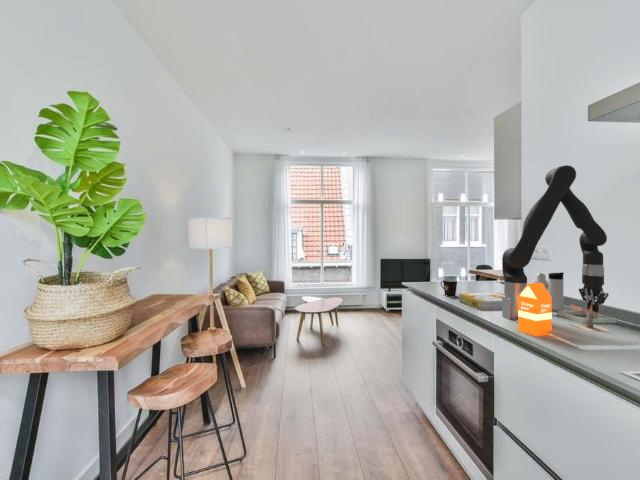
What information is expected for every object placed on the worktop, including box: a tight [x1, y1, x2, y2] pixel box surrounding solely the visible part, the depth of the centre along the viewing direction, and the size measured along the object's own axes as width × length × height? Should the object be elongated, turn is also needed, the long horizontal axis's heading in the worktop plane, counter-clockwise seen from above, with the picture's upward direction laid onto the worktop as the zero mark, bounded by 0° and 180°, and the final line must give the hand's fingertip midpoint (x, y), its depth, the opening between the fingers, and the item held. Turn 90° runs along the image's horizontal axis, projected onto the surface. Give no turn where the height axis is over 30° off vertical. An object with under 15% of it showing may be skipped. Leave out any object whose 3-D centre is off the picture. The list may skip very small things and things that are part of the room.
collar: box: [568, 302, 603, 318], centre depth 140 cm, size 10×7×6 cm
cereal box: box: [458, 292, 504, 310], centre depth 175 cm, size 20×6×28 cm
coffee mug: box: [440, 279, 458, 297], centre depth 204 cm, size 12×9×10 cm
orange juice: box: [517, 282, 553, 337], centre depth 125 cm, size 8×9×20 cm
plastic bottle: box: [533, 273, 549, 291], centre depth 154 cm, size 6×7×20 cm
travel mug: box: [547, 272, 565, 313], centre depth 160 cm, size 6×7×20 cm
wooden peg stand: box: [568, 312, 612, 332], centre depth 127 cm, size 10×10×7 cm
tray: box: [556, 310, 617, 324], centre depth 140 cm, size 15×15×3 cm
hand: (592, 311), depth 140 cm, fingers closed on collar
